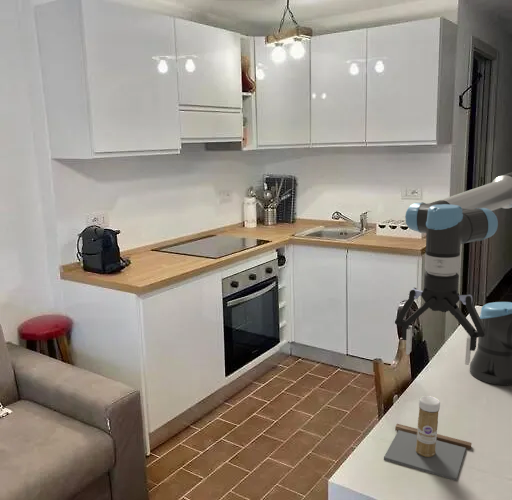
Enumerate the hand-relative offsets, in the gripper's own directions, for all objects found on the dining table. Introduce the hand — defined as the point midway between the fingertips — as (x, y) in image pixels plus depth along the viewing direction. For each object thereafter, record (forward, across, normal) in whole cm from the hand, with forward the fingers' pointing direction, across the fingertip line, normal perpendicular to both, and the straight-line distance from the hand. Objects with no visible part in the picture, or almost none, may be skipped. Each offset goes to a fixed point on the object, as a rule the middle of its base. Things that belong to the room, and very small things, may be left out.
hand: (437, 357), depth 126 cm
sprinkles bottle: (+21, 0, -8) cm, 22 cm away
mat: (+21, 0, -8) cm, 23 cm away
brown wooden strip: (+22, 0, 0) cm, 22 cm away
